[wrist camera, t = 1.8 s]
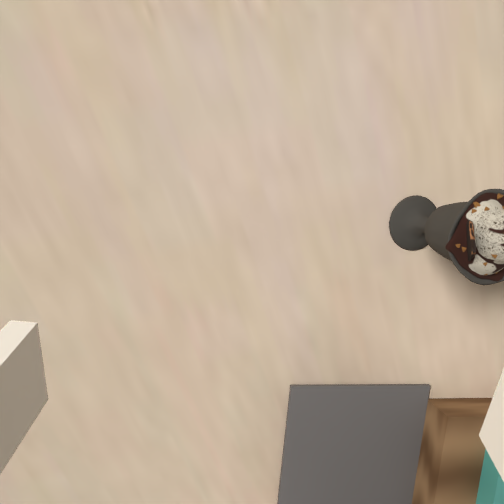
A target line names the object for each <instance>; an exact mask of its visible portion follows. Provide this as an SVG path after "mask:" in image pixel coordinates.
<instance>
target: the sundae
mask: <svg viewBox="0 0 504 504" xmlns="http://www.w3.org/2000/svg"><path fill="white" fill-rule="evenodd" d="M389 229H390V234H391V236H392V238H393V240H394V242H395V243H396V244H397V245H398V246H400V247H401V248H403V249H406V250H418V249H421V248H423V247H425V246H426V245H428V244H429V246H430V247H431V248H432V249H433V250H435V251H436V252H437V253H439V254H440V255H442V256H443V257H445V258H447V259H449V260H451V261H453V263H454V265H455V266H456V267H457V269H458V270H459V271H460V272H461V273H462V274H463V275H464V276H465V277H466V278H468V279H469V280H470V281H472V282H474V283H477V284H481V285H489V284H494V283H498V282H501V281H504V190H502V189H488V190H484V191H482V192H480V193H478V194H477V195H475V196H474V197H473V198H472V199H471V200H470V201H469V202H460V203H453V204H448V205H444V206H440V207H438V208H437V209H436V207H435V205H434V204H433V203H432V202H431V201H430V200H429V199H427V198H425V197H422V196H410V197H407V198H405V199H403V200H402V201H401V202H399V203H398V204H397V206H396V207H395V208H394V210H393V211H392V214H391V217H390V221H389Z"/></svg>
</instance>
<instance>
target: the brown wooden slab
mask: <svg viewBox="0 0 504 504" xmlns="http://www.w3.org/2000/svg"><path fill="white" fill-rule="evenodd" d="M491 401H492V398H450V399H428V404H427V410H426V416H425V423H424V429H423V435H422V441H421V448H420V454H419V460H418V467H417V473H416V479H415V486H414V492H413V498H412V504H476V499H477V493H478V488H479V482H480V477H481V471H482V466H483V460H484V455H485V449H486V448H485V446H484V444H483V442H482V441H481V439H480V437H479V433H480V431H481V428H482V425H483V423H484V420H485V417H486V414H487V412H488V409H489V406H490V404H491Z"/></svg>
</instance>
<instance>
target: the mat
mask: <svg viewBox="0 0 504 504" xmlns="http://www.w3.org/2000/svg"><path fill="white" fill-rule="evenodd" d="M429 391H430V385H429V384H369V385H290V394H289V403H288V412H287V421H286V430H285V439H284V448H283V457H282V467H281V476H280V485H279V494H278V503H277V504H412V498H413V492H414V486H415V479H416V473H417V467H418V460H419V454H420V448H421V441H422V435H423V429H424V423H425V416H426V410H427V404H428V397H429Z"/></svg>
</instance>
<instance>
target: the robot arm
mask: <svg viewBox="0 0 504 504" xmlns="http://www.w3.org/2000/svg"><path fill="white" fill-rule="evenodd" d="M47 400H48V394H47V387H46V380H45V373H44V366H43V358H42V351H41V344H40V337H39V330H38V323H37V322H25V321H13V320H10V321H9V322H8V323H7V324H6V325H5V326H4V327H3V328H2V329H1V330H0V474H1V473H2V471H3V469H4V468H5V466H6V465H7V463H8V462H9V460H10V458H11V457H12V455H13V454H14V452H15V451H16V449H17V447H18V446H19V444H20V443H21V441H22V440H23V438H24V436H25V435H26V433H27V432H28V430H29V429H30V427H31V425H32V424H33V422H34V421H35V419H36V418H37V416H38V414H39V413H40V411H41V410H42V408H43V407H44V405H45V403H46V402H47ZM479 437H480V439H481V441H482V442H483V444H484V446H485V448H486V450H487V452H488V454H489V456H490V457H491V459H492V461H493V463H494V465H495V467H496V469H497V470H498V472H499V474H500V476H501V478H502V480H503V482H504V368H503V371H502V374H501V377H500V379H499V382H498V385H497V387H496V390H495V393H494V395H493V398H492V401H491V404H490V406H489V409H488V412H487V414H486V417H485V420H484V423H483V425H482V428H481V431H480V433H479Z"/></svg>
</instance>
